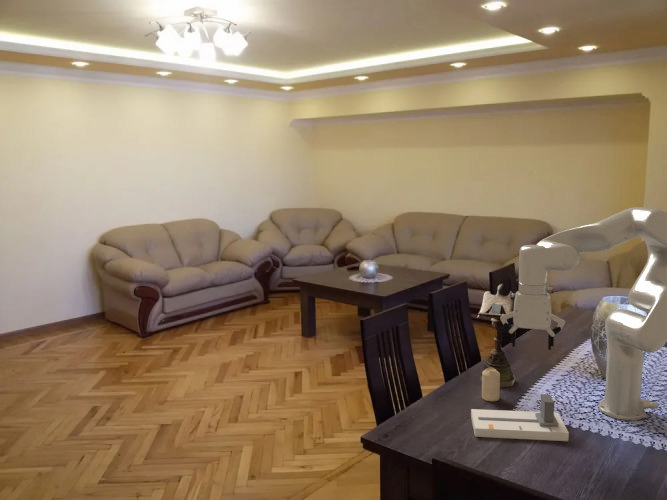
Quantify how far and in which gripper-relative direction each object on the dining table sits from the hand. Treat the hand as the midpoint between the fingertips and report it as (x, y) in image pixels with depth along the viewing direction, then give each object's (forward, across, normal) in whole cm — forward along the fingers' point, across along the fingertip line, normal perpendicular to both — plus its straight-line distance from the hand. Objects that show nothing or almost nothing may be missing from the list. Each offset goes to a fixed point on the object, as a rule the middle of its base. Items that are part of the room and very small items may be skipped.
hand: (531, 346), depth 155 cm
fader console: (+24, +3, +4) cm, 24 cm away
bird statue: (+24, +11, -27) cm, 38 cm away
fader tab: (+21, -5, +2) cm, 21 cm away
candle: (+24, +13, -14) cm, 31 cm away
